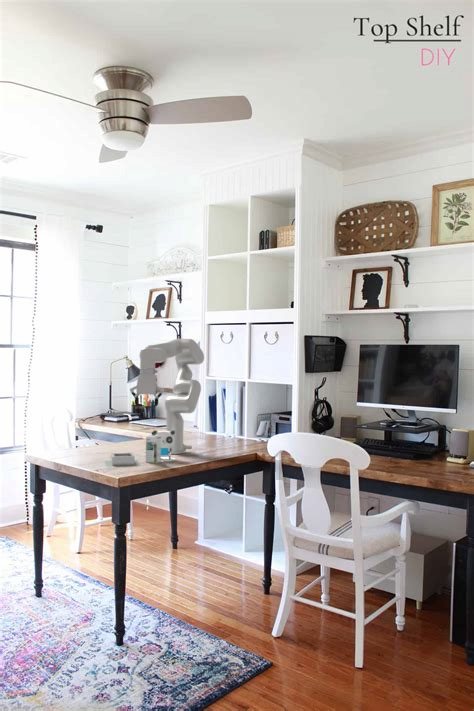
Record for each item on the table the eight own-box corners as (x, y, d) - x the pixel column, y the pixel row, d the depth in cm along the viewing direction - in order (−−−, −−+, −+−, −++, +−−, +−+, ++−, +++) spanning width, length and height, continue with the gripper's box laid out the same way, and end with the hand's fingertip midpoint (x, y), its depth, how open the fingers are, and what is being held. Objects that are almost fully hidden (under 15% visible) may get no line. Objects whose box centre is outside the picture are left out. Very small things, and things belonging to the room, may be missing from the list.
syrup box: (145, 465, 295) (145, 435, 295) (151, 463, 301) (151, 434, 301) (155, 466, 293) (155, 436, 293) (161, 464, 299) (161, 435, 298)
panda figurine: (149, 461, 307) (150, 431, 307) (153, 457, 318) (154, 428, 318) (173, 461, 306) (173, 432, 306) (176, 457, 318) (176, 429, 318)
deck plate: (137, 463, 301) (137, 460, 301) (140, 468, 287) (140, 465, 287) (105, 464, 297) (105, 461, 297) (106, 469, 283) (106, 466, 283)
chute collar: (132, 460, 298) (132, 452, 298) (134, 464, 288) (134, 456, 288) (111, 461, 296) (111, 453, 296) (112, 465, 286) (112, 457, 286)
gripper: (165, 372, 308) (164, 406, 308) (132, 371, 310) (131, 405, 309) (162, 372, 301) (161, 406, 300) (128, 371, 302) (127, 405, 302)
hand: (146, 405), depth 305 cm, fingers open, 9 cm apart
